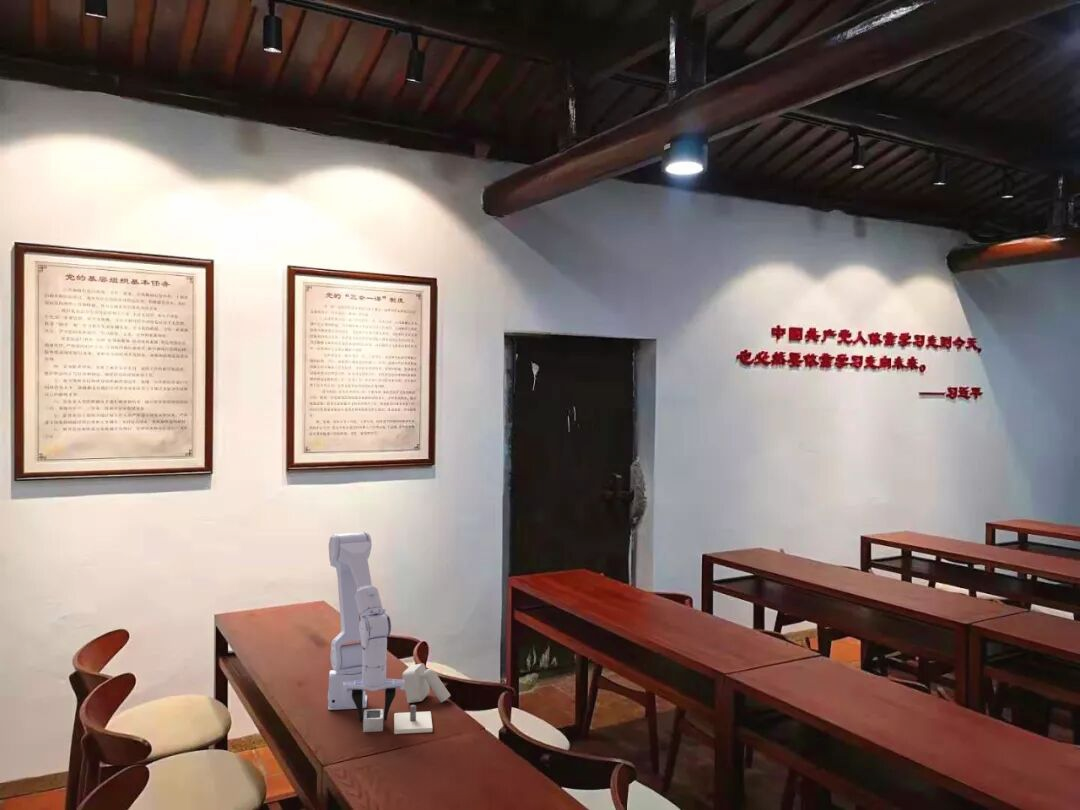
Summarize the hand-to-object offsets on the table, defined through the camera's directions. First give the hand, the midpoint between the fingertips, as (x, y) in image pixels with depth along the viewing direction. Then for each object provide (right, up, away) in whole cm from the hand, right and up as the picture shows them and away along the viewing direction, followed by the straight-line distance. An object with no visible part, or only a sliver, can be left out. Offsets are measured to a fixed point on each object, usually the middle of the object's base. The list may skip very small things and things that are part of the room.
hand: (373, 719), depth 196 cm
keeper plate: (+9, -2, +2) cm, 10 cm away
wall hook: (+11, -2, +17) cm, 21 cm away
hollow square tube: (0, -2, 0) cm, 2 cm away
